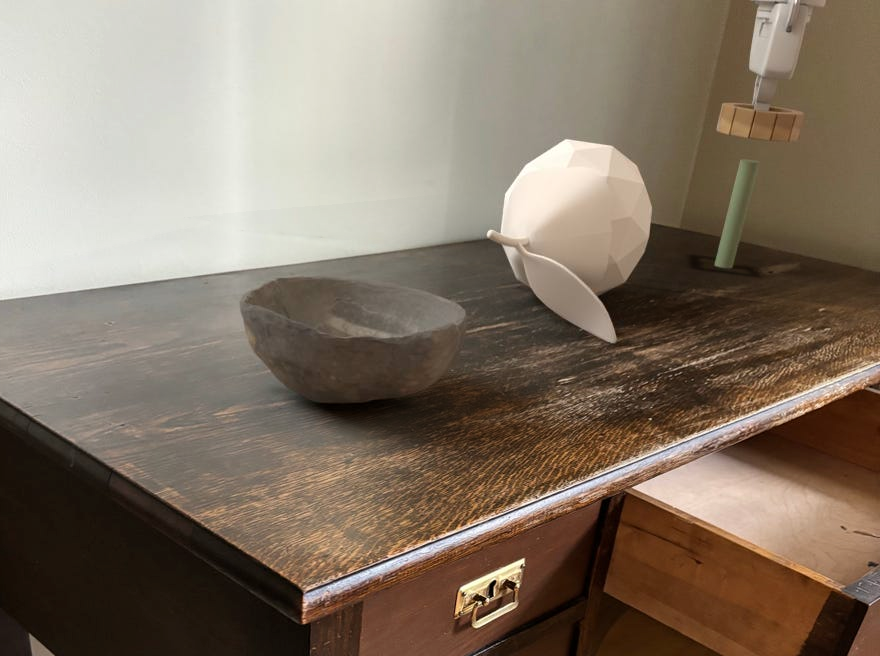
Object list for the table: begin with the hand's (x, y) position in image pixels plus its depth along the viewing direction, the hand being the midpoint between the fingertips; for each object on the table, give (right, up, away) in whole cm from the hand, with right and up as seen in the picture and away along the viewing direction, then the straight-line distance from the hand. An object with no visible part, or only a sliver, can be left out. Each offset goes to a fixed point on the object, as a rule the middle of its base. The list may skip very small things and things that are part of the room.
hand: (757, 117), depth 124 cm
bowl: (-50, -47, -44) cm, 81 cm away
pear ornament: (-28, -30, -15) cm, 44 cm away
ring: (-1, -4, -2) cm, 5 cm away
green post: (-2, -17, +7) cm, 19 cm away
